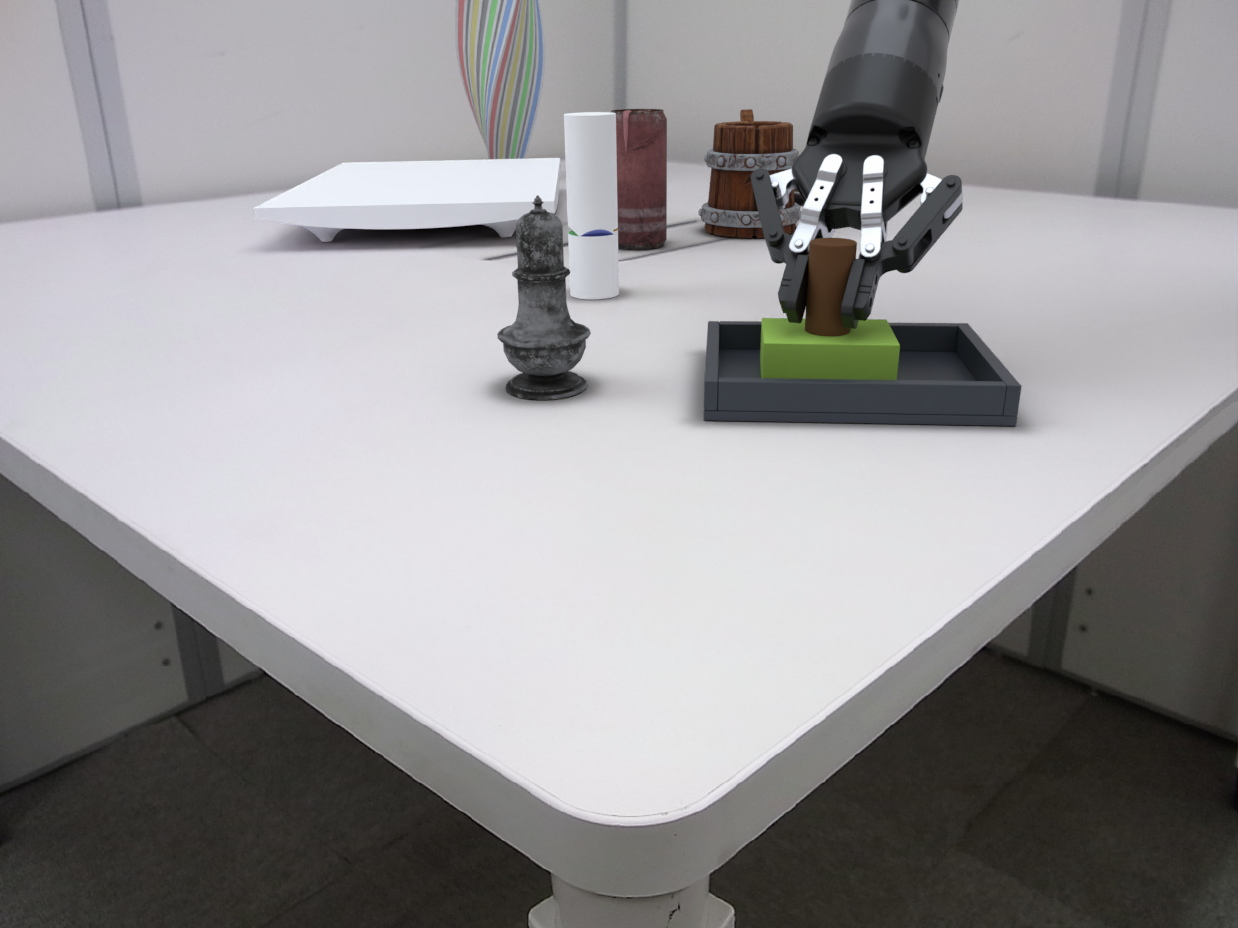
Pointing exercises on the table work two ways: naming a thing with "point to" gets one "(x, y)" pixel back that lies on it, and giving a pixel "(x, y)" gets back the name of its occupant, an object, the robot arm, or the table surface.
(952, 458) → the table surface
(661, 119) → the can
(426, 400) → the table surface
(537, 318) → the salt shaker
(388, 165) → the board
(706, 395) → the tray
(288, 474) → the table surface
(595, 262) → the tube
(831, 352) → the green block brown handle
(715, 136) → the mug
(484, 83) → the vase
